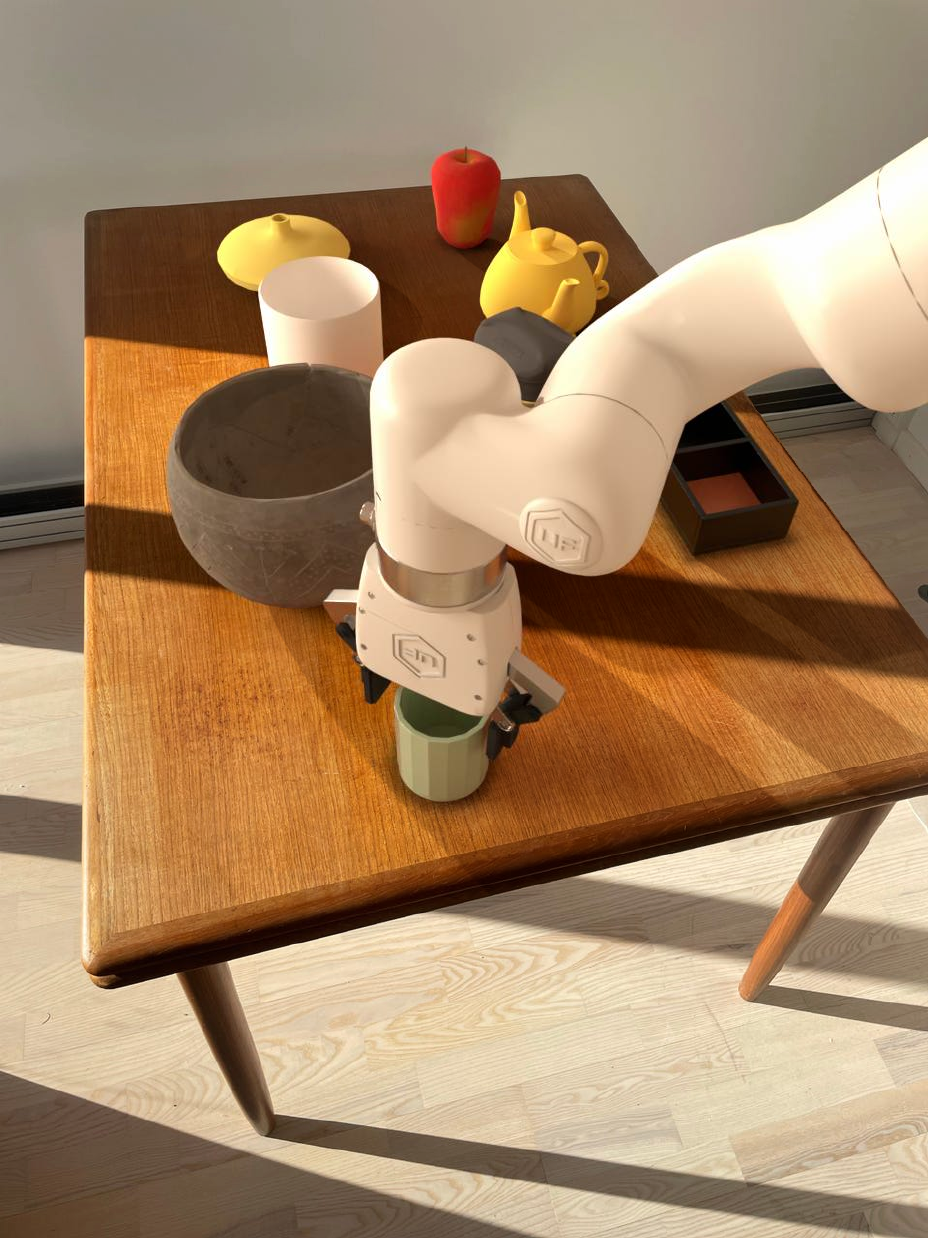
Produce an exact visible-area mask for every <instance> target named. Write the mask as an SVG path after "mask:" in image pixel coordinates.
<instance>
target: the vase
mask: <svg viewBox="0 0 928 1238" xmlns="http://www.w3.org/2000/svg"><path fill="white" fill-rule="evenodd" d="M350 246H351V245H350V242H349V240H348V238H347V237H345V235H344V234H343V233H342V232H341V231H340V230H339V229H338V228H337V227H336V226H333V224H331V223H329V222H327V221H325V220H321V219H319V218H317V217H311V216H306V215H297V214H286V213H283V212H282V213H281V212H280V213H275V214H272V215H270V216H264V217H260V218H259V217H258V218H255V219H253V220H250V221H247V222H244V223H243V224H240V225H239V226H237V227H235V228H234V229H232V230H231V231H230V232H229V233H228V234H227V235H226V236H225V237H224V238H223V240H222V241H221V243H220V245H219V247H218V249H217V252H216V253H217V262H218V264H219V266H220V267H221V269H222V271H223V273H224V274H225V276H226V277H227V278H228V279H229V280H231V282H233V283H234V284H235V285H237V286H240V287H243V288H245V289H247V290H250V291H254V292H258V293H259V287H260V284H261V282H262V280H263V279H264V278H265V277H266V275H267V274H268V273H270V272H271V271H272V270H273V269H275V268H277V267H278V266H280V265H282V264H284V263H287V262H290V261H293V260H297V259H301V258H307V257H316V256H329V257H338V258H343V259H347V260H349V256H350V253H351V247H350Z"/></svg>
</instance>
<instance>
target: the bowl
mask: <svg viewBox="0 0 928 1238" xmlns="http://www.w3.org/2000/svg"><path fill="white" fill-rule="evenodd" d="M372 382H373V378H372V377H370V376H367V375H365V374H362V373H360V374H359V373H358V372H355V371H351V370H348V369H344V368H340V367H335V366H331V365H326V364H311V365H310V366H309V364H308V363H293V364H282V365H276V366H270V365H269V366H264V367H258V368H254V369H250V370H247V371H243V372H241V373H239V374H237V375H234V376H232V377H229V378H227V379H225V380H223V381H221V382H220V383H218V384H216V385H214V386H212V387H211V388H209V389H207V390H206V391H203V393H201V394H200V395H199V396H198V397H197V398H195V400H194V401H193V402H192V403H191V404H190V405H189V406H188V407H187V408H186V409H185V410H184V411H183V413H182V415H181V417H180V419H179V421H178V423H177V425H176V427H175V428H174V430H173V433H172V437H171V439H170V442H169V446H168V452H167V459H166V488H167V496H168V501H169V506H170V510H171V515H172V519H173V521H174V523H175V526H176V529H177V532H178V534H179V537H180V539H181V541H182V543H183V544H184V546H185V548H186V549H187V550H188V551H189V553H190V554H191V556H192V557H193V559H194V560H195V561H196V562H197V564H198V565H199V566H201V568H202V569H203V570H204V571H205V572H206V573H207V574H208V575H209V576H210V577H211V578H212V579H214V581H216V582H218V583H219V584H220V585H222V586H223V587H224V588H226V589H227V590H228V591H230V592H231V593H233V594H236V595H238V596H240V597H242V598H244V599H247V600H249V601H251V602H254V603H259V604H262V605H265V606H270V607H278V608H284V609H307V608H309V609H310V608H314V607H320V606H323V601H324V600H325V599H326V598H327V597H328V595H329V594H330V593H331V592H332V591H333V590H334V589H346V590H359V585H360V579H361V574H362V569H363V565H364V561H365V557H366V554H367V551H368V550H369V548H370V547H371V546H372V545H373V544H374V543H375V532H374V531H373V529H371V528H370V526H369V525H367V524H364V523H362V522H361V521H360V518H359V517H360V512H361V509H362V507H363V505H364V504H365V503H366V502H367V501H370V502H372V503H375V495H374V477H373V457H372V438H371V419H370V391H371V386H372Z"/></svg>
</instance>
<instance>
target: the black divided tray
mask: <svg viewBox="0 0 928 1238" xmlns="http://www.w3.org/2000/svg"><path fill="white" fill-rule="evenodd" d="M659 502H660V504H661V505H662V507H663V508H664V510H665V513H667V515H668V518H670V520H671V522H672V523H673V525H674V527H675V529H676V530H677V533H678V534H679V535H680V537H681V539H682V540H683V542H684V544H685V545H686V547H687V549H688V550H689V552H690V554H691V555H692V556H693V557H695V556H700V555H705V554H710V553H716V552H721V551H725V550H731V549H736V548H741V547H747V546H751V545H757V544H761V543H767V542H772V541H777V540H781V539H786V538H787V536H788V532H789V530H790V527H791V525H792V522H793V521H794V520H793V519H794V517H795V514H796V513H797V509H798V507H799V504H800V500H799V498H798V497H797V496H796V494H795V493H794V492H793V491H792V489H791V487H789V485H788V483H787V482H786V481H785V480H784V478H783V476H782V475H781V473H780V472H779V471H778V470H777V469H776V467H775V466H774V464H773V463H772V461H771V460H770V458H768V456H767V455H766V453H765V452H764V450H763V449H762V448H761V446H760V445H759V444H758V443H757V441H756V440H755V439H754V437H753V436H752V434H751V433H750V431H749V430H748V429H747V427H746V426H745V424H744V423H743V422H742V420H741V419H740V418H739V416H738V415H737V414H736V413H735V411H734V410H733V408H732V407H731V405H730V404H729V402H728V401H727V399H725V400H723V401H721V402H719V403H717V404H716V405H714V406H712V407H710V408H708V409H707V410H705V411H704V412H702V413H700V414H699V415H697V416H696V417H694V418H693V419H691V420H690V421H688V422H687V423H686V424H685V426H684V428H683V431H682V434H681V437H680V439H679V442H678V445H677V448H676V451H675V454H674V457H673V460H672V463H671V466H670V469H669V471H668V474H667V477H666V481H665V484H664V487H663V490H662V493H661V496H660V499H659Z"/></svg>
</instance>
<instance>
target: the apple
mask: <svg viewBox="0 0 928 1238" xmlns="http://www.w3.org/2000/svg"><path fill="white" fill-rule="evenodd" d="M430 179H431V190H432V196H433V201H434V208H435V216H436V227H437V231H438V232H439V234H440V235H441V237H442V238H443V239H444V241H445V242H446V243H447V244H449V245H450V246H451V247H454V248H456V249H463V250H467V249H473V248H475V247H477V246H478V245H480V244H481V243H482V242H484V241H485V240H486V239H488V238H489V237H490V235H491V234H492V233H493V229H494V228H493V227H494V221H495V215H496V211H497V205H498V202H499V201H498V200H499V197H500V191H501V180H502V172H501V169H500V168H499V166H498V164H497V162H496V160H495V159H493V157H492V156H489V155H488V154H485V153H483V152H481V151H480V150H479V151H478V150H475V149H471V148H468V146H467V145H466V146H464V148H458V149H453V150H451V151H447V152H445V153H444V152H443V153H441V154H440V155H439V156H437V158H436V159H435V161H434V163H433V165H432V166H431V168H430Z"/></svg>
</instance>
